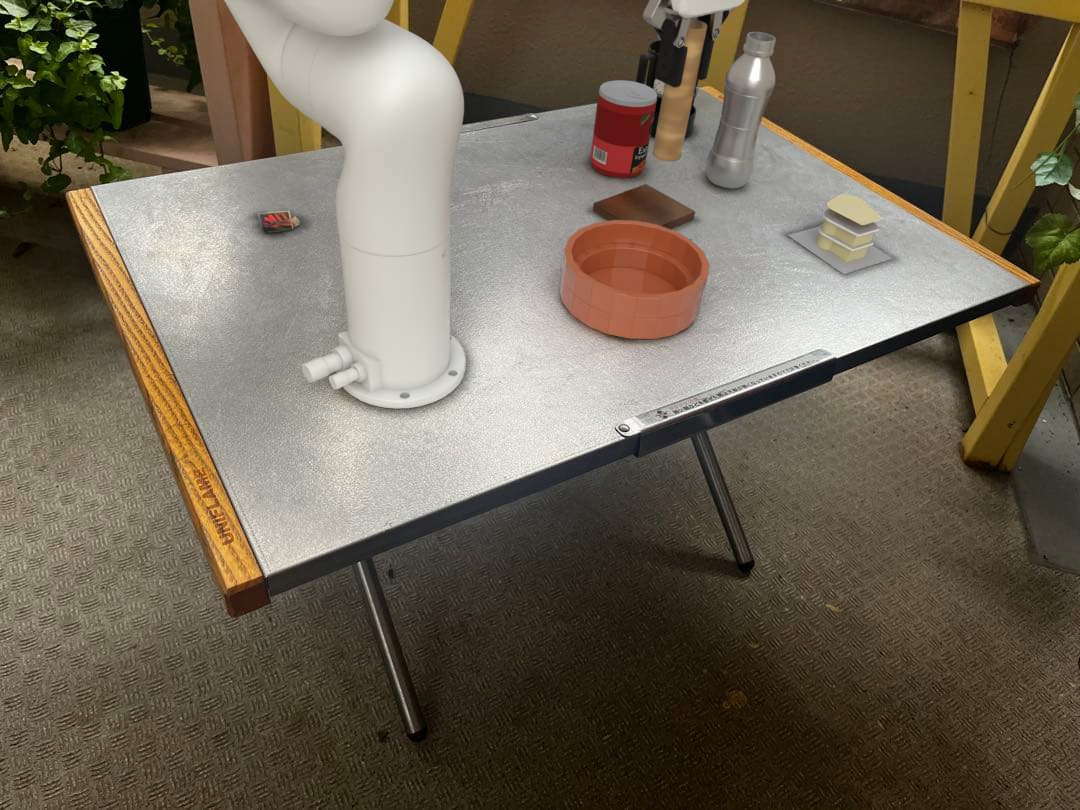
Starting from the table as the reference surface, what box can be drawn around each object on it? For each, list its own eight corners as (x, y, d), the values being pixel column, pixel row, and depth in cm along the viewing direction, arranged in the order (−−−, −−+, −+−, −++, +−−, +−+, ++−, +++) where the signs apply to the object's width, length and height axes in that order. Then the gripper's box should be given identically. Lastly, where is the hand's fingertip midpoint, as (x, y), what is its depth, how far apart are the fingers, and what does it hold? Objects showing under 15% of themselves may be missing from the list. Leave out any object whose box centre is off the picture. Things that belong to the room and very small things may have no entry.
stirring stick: (667, 164, 88) (692, 30, 79) (646, 153, 90) (669, 21, 80) (686, 157, 90) (714, 25, 80) (666, 146, 91) (690, 16, 82)
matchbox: (267, 236, 94) (266, 232, 94) (251, 217, 97) (250, 213, 97) (304, 227, 97) (304, 223, 96) (288, 208, 100) (287, 205, 99)
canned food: (641, 183, 113) (655, 105, 105) (585, 173, 113) (595, 96, 106) (646, 160, 118) (660, 85, 111) (593, 151, 119) (603, 76, 112)
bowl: (629, 363, 82) (638, 316, 78) (531, 291, 91) (535, 245, 87) (725, 312, 91) (738, 267, 87) (627, 251, 99) (635, 207, 95)
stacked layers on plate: (892, 258, 102) (909, 220, 99) (843, 274, 99) (859, 235, 95) (835, 222, 109) (849, 184, 105) (787, 235, 105) (799, 197, 101)
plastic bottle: (721, 197, 111) (759, 48, 98) (692, 176, 116) (725, 30, 102) (757, 189, 114) (798, 43, 100) (727, 169, 118) (763, 26, 105)
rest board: (641, 241, 101) (643, 232, 100) (592, 211, 106) (593, 202, 105) (693, 219, 106) (695, 211, 105) (644, 191, 111) (646, 183, 110)
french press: (672, 111, 133) (702, -44, 117) (708, 134, 127) (744, -25, 111) (614, 121, 128) (637, -39, 112) (648, 145, 122) (678, -20, 107)
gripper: (688, -113, 66) (651, 108, 78) (808, -125, 74) (757, 76, 86) (624, -131, 70) (599, 81, 82) (745, -141, 78) (705, 54, 90)
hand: (680, 77), depth 84 cm, fingers closed on stirring stick, 3 cm apart
